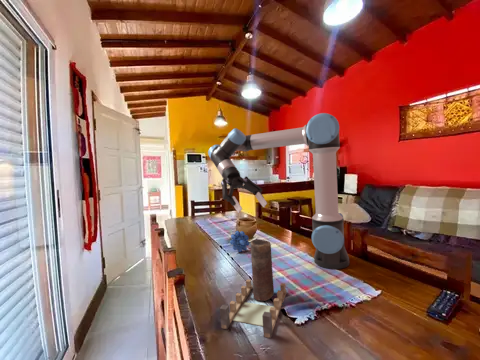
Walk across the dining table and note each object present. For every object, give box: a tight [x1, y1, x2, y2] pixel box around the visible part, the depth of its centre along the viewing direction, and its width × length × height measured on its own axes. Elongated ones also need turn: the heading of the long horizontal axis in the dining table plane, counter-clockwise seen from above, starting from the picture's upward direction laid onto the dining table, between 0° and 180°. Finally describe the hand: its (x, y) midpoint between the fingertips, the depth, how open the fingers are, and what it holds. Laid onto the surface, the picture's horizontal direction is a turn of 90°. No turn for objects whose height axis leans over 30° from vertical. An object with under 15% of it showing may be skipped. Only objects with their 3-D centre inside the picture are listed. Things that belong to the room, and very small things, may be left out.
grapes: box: [229, 230, 250, 253], centre depth 132 cm, size 12×7×12 cm, turn 119°
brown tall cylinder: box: [250, 238, 275, 301], centre depth 86 cm, size 8×7×20 cm
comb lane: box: [219, 279, 288, 339], centre depth 80 cm, size 15×24×6 cm, turn 158°
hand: (253, 208), depth 99 cm, fingers open, 13 cm apart
